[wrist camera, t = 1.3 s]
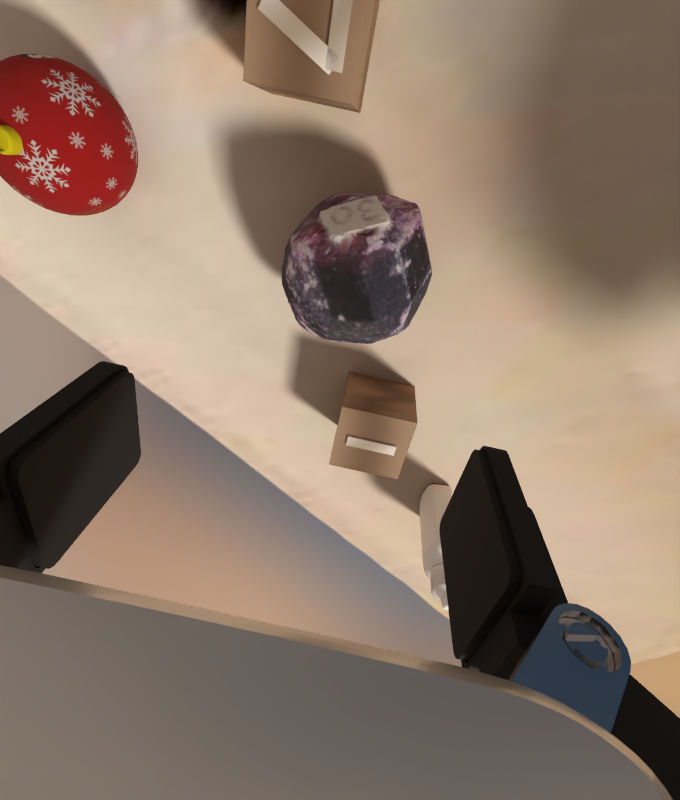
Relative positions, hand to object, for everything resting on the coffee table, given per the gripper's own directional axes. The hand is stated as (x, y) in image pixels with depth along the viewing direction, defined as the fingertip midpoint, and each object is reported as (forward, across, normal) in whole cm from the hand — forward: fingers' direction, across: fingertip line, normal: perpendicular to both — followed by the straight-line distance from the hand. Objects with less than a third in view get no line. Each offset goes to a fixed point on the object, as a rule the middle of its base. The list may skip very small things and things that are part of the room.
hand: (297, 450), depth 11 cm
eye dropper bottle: (+25, -13, +23) cm, 36 cm away
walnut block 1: (+25, -4, +13) cm, 28 cm away
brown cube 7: (+25, +5, -12) cm, 28 cm away
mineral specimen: (+25, 0, 0) cm, 25 cm away
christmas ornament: (+25, +20, -4) cm, 32 cm away
